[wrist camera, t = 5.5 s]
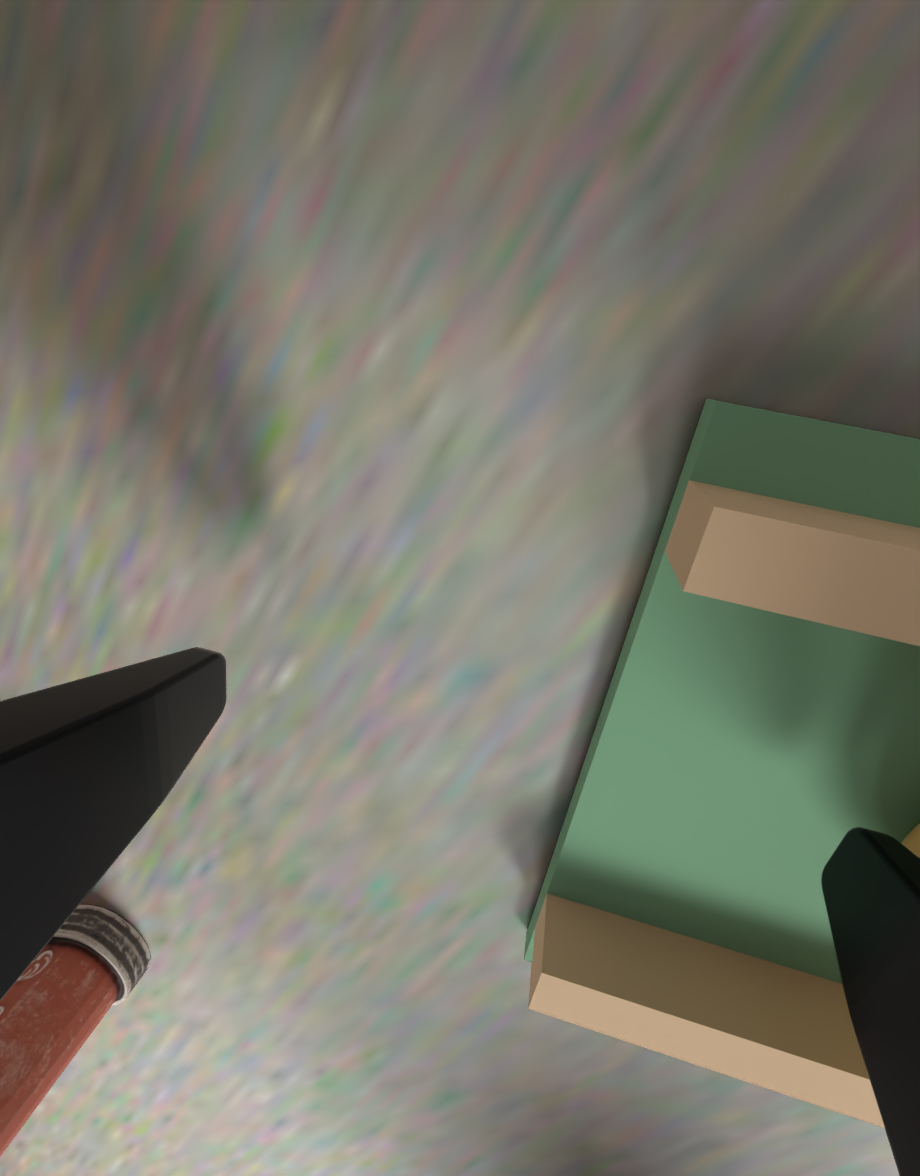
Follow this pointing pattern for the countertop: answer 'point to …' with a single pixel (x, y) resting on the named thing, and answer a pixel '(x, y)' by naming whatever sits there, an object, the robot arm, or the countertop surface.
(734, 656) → the track
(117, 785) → the robot arm
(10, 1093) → the lighter
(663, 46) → the countertop surface
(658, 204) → the countertop surface
